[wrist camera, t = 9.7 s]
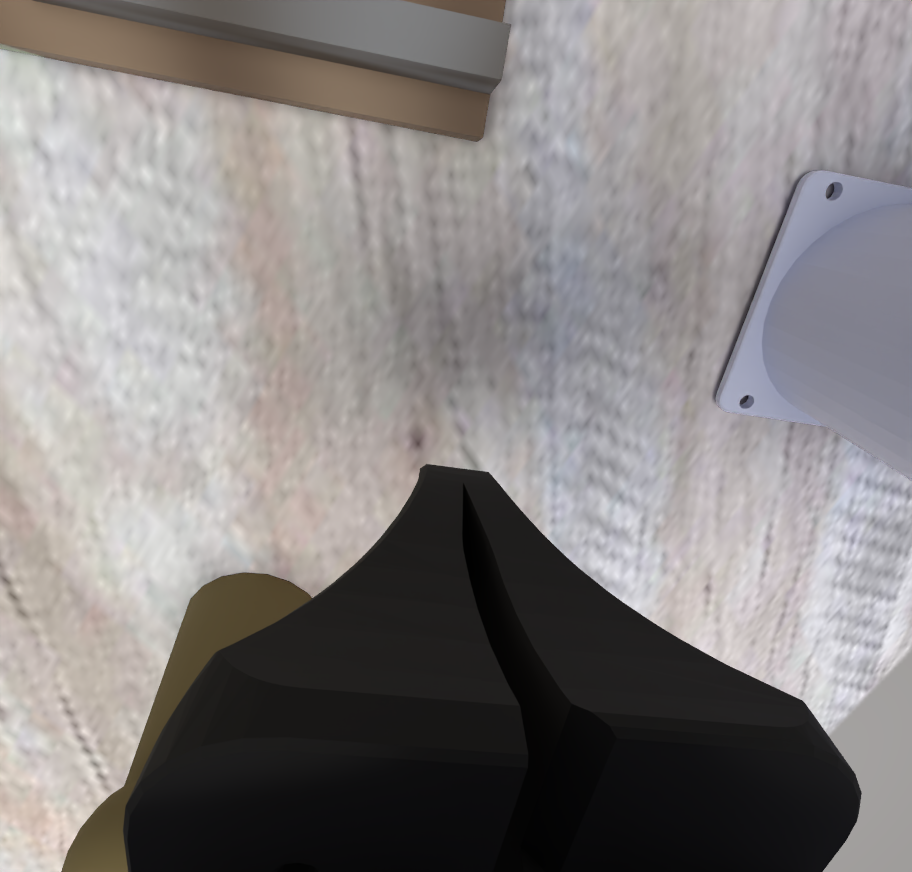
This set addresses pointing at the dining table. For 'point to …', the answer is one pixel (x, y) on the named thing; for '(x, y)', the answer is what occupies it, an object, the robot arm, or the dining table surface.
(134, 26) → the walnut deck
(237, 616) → the cork
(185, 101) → the dining table surface
